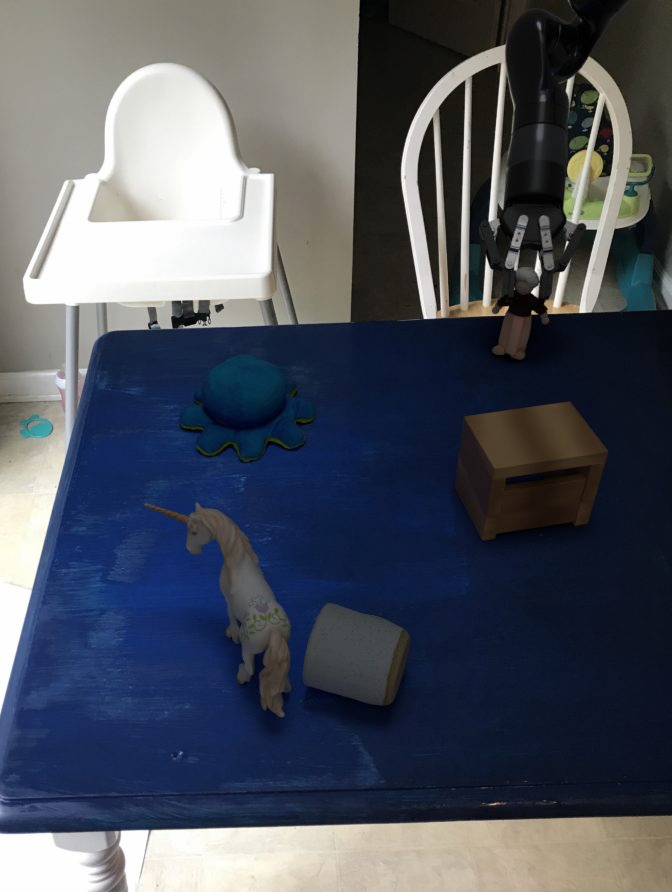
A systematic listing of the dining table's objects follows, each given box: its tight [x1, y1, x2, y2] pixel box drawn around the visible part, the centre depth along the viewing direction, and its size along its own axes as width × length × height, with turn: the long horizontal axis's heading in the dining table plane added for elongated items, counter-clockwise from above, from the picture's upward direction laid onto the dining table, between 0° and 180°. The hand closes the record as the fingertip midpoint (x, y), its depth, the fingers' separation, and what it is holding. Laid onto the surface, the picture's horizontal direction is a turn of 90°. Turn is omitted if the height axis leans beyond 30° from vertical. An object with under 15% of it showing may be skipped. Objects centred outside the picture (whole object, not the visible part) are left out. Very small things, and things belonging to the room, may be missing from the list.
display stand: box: [454, 401, 609, 542], centre depth 89 cm, size 12×9×10 cm
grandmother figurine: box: [491, 266, 550, 360], centre depth 110 cm, size 8×4×13 cm, turn 72°
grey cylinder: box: [302, 602, 411, 706], centre depth 74 cm, size 11×8×8 cm
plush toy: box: [179, 353, 316, 463], centre depth 103 cm, size 17×17×8 cm
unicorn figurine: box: [143, 502, 293, 718], centre depth 75 cm, size 7×20×13 cm, turn 36°
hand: (525, 301), depth 107 cm, fingers closed on grandmother figurine, 3 cm apart
